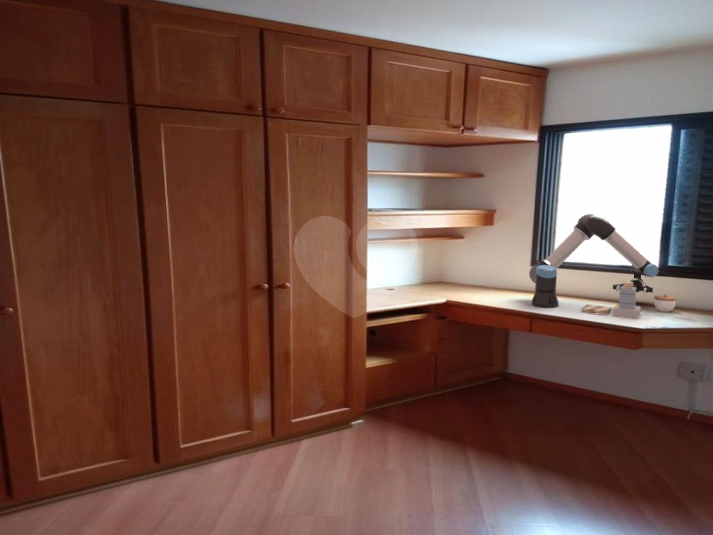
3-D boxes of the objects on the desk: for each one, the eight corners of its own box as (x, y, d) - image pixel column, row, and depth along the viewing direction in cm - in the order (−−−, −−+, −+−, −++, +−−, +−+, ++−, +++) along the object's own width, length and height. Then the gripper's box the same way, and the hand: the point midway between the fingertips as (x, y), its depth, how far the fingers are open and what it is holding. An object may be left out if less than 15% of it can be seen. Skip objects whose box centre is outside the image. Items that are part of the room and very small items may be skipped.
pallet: (581, 312, 285) (581, 308, 285) (586, 308, 296) (586, 304, 295) (607, 315, 278) (607, 311, 277) (611, 311, 288) (611, 307, 288)
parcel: (624, 288, 276) (624, 282, 276) (623, 286, 280) (623, 281, 279) (632, 288, 275) (633, 283, 274) (631, 287, 278) (632, 281, 278)
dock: (612, 315, 277) (612, 308, 276) (616, 311, 288) (616, 304, 287) (637, 318, 270) (637, 310, 269) (640, 313, 281) (641, 306, 281)
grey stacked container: (618, 307, 278) (619, 288, 276) (620, 305, 283) (621, 286, 282) (633, 309, 273) (634, 289, 272) (635, 307, 279) (636, 287, 278)
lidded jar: (663, 313, 283) (664, 296, 282) (648, 309, 293) (649, 293, 292) (679, 312, 285) (681, 295, 284) (664, 308, 295) (666, 292, 294)
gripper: (659, 293, 296) (655, 299, 279) (612, 289, 311) (605, 294, 294) (660, 281, 295) (656, 285, 278) (612, 277, 310) (606, 282, 293)
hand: (630, 290), depth 286 cm, fingers open, 13 cm apart
